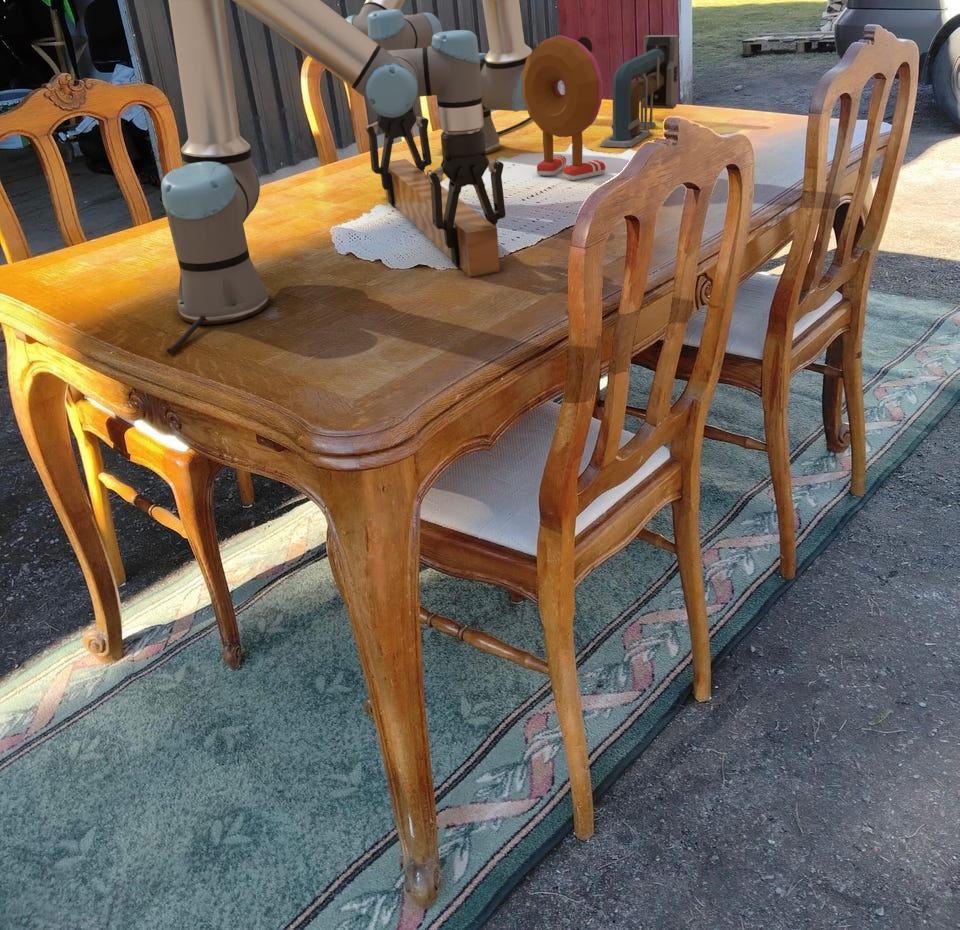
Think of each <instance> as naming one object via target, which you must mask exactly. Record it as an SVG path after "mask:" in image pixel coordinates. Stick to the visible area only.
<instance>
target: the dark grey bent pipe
mask: <svg viewBox="0 0 960 930" xmlns="http://www.w3.org/2000/svg"><path fill="white" fill-rule="evenodd" d="M678 59H679V34H651V35H649V34H648V35H645V36H644V37H643V53H642V54H639V55H638V56H636V57H633V58H631V59H629V60H627V61H625V62H623V63H621V64H620V66H619V67H617V69H616V70H615V72H614V73H613V74H614V75H613V79H612V123H611V129H612V135H610V136H608V137H606V138H605V139H603V140H601V142H600V144H599V146H600V147H604V148H605V147H606V148H608V147H609V148H610V147H611V148H632V147H633V146H635V145H637V144H638V143H640V142H641V141H643V140H644V139H646V138H647V137H649V136H651V135H652V133H651V131H650V129H653V128H655V127H656V126H657V124H656V122H654V121H653V111H654V109H659V110H662V109H665V110H673V109H675V108H676V107H677V100H678V98H677V96H678V66H679V65H678V63H679V61H678ZM637 78H640V79H638V80H636V81H634V82H632V81H633V80H635V79H637ZM648 109H649V121H648Z"/></svg>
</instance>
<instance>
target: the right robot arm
mask: <svg viewBox="0 0 960 930" xmlns="http://www.w3.org/2000/svg"><path fill="white" fill-rule="evenodd" d="M405 1H406V0H365V1H364V3H363V5H362V7H361V9H360V12H359V14H352V15H349V16H347V17H345V18H344V19H345V20H347V21H348V22H349V23H351V24H352V25H353V26H354V27H356V28H357V29H358V30H360V31H361V32H362V33H364V34H365V35H366V36H368V37H369V38H370V39H372V40H373V41H374V42H376V43H377V44H378V45H379V46H380V47H382V48H383V49H385V50H386V51H387V50H402V49H417V48H426V47H429V46H431V43H432V37H433V35H434V34H436V33H439V32H443V28H442V24H441V22H440V20H439V18H438V17H437V16H436V15H434V13H431V12H416V13H415V14H404V13H403V11H402V8H403V5H404V3H405ZM481 2H482V9H483V16H484V22H485V28H486V35H487V41H488V48H489V50H488V52H487V53H486V52H479V60H480V75H481V93H482V108H483V119H484V125H483V127H482V128H481V129H483V131H484V135H485V149H486V155H487V154H491V153H495V152H497V151H498V150H499V149H500V148H501V141H500V137H499V136H500V135H503V134H505V133H507V132H510V131H512V130H515V129H517V128H519V127H521V126H522V125H525V124H526V123H528V122H530V121H532V119H531V117H530V116H529V117H528V118H526V119H524V120H522V121H521V122H518V123H516V124H514V125H512V126H510V127H507V128H505V129H502V130H500V131H497V129H496V126H495V124H494V121H493V119H492V111H509V112H514V113H516V112H528V111H527V108H526V106H525V103H524V101H523V98H522V82H521V76H522V73H523V69H524V66H525V63H526V59H527V58H528V56H529V55H530V54H531V53H532V52H533V50H532V48H531V47H530V46H528V45H527V44H526V43H525V37H524V36H525V35H524V30H523V20H522V14H521V6H520V0H481ZM429 122H430V121H429V119H428V118H427V117H425V116H421V117H420V116H417V115H416V114H415V112H414V105H413V106H412V107H411V108H410V109H409V110H408V111H407V112H406V113H405V114H403V115H401V116H399V117H393V118H391V117H385V116H382V115H380V114H379V113H377V118H376V121H375V122H374V123H371V124H366V125H365V126H364V127H365V131H366V132H367V136H368V143H369V155H370V167H371V171H372V172H373V173H374V174H379V175H380V178H381V185H382V186H381V187H382V189H383V190H384V191H385V190H387V192H388V200H389V201H388V200H387V201H388V204H389V205H391V206H394V205H395V200H394V191H393V183H392V175H391V174H390V173H389V172H388V169H389V163H390V161H391V157H392V156H391V155H392V150H393V145H394V140H395V139H398V138H404V139H405V142H406V145H407V147H408V149H409V152H410V154H411V157H412V159H413V163H414V165H415V166H416V167H417V168H418V169H420V170H421V171H422V172H424V173H425V170H426V167H428V166H431V165H432V164H433V162H432V154H431V148H430V142H429V141H430V140H429V134H428V127H429ZM415 124H416V127H417V128H418V134H419V135H418V136H419V140H420V142H419V143H420V148H421V154H422V157H421V154H420V152H419V149H418V147H417V144H416V142H415V140H414V136H413V133H412V129H413V127H414V126H415ZM379 128H380V130H381V131H382V132H383V133H384V136H383V148H382V153H381V161H380V159H379V158H380V157H379V145H378V137H377V135H378V133H379Z"/></svg>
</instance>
